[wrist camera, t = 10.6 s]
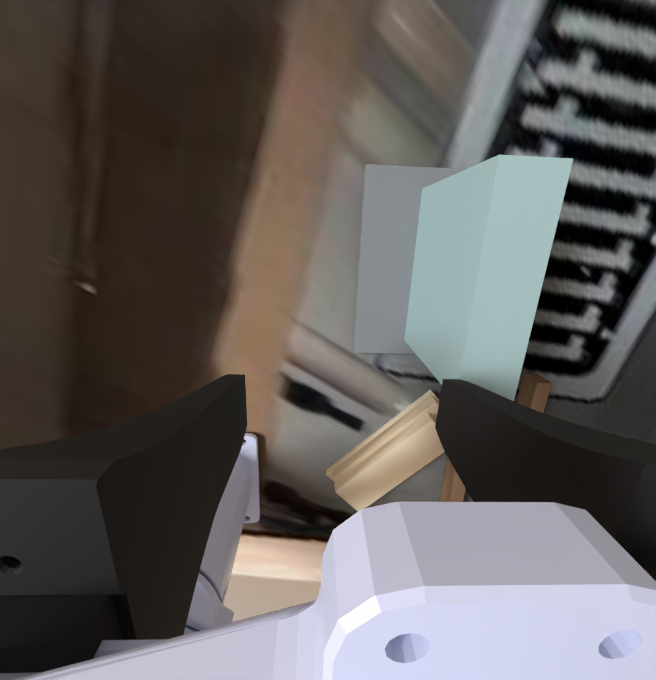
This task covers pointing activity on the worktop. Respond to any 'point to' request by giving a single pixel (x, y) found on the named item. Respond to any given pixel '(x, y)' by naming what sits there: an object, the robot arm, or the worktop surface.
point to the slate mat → (388, 253)
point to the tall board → (483, 267)
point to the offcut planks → (389, 454)
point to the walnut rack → (529, 395)
